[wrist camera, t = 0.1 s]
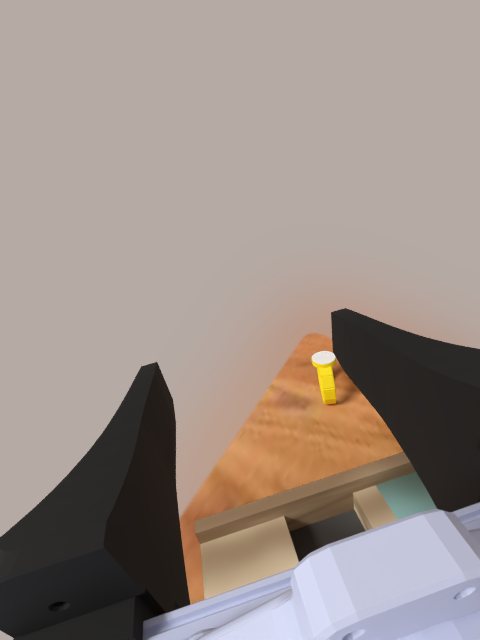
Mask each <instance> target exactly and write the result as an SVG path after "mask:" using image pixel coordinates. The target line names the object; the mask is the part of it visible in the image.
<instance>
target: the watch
mask: <svg viewBox="0 0 480 640" xmlns="http://www.w3.org/2000/svg"><path fill="white" fill-rule="evenodd" d="M335 363H336V357H335V355H334V354H333V353H332V352H329V351H321V352H317V353H315V354H314V355H313V356H312V364H313V366H315V367H317V371H318V378H319V384H320V389H321V393H322V398H323V403H324V404H325V405H326V404H335V403H336V389H335V382H334V376H333V371H332V366H334V365H335Z"/></svg>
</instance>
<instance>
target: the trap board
mask: <svg viewBox="0 0 480 640" xmlns="http://www.w3.org/2000/svg"><path fill="white" fill-rule="evenodd" d="M433 509H437V508H436V506H435V504H434V502H433V500H432V499H431V497H430V495H429V493H428V491H427V490H426V488H425V486H424V484H423V483H422V481H421V479H420V477H419V476H418V474H417V472H416V471H415V469H414V467H413V465H412V464H411V462H410V461H409V459H408V457H407V456H406V454H405V453H404V452H402V453H399V454H396V455H393V456H390V457H387V458H384V459H381V460H378V461H375V462H372V463H369V464H366V465H362V466H359V467H356V468H353V469H350V470H347V471H344V472H341V473H338V474H335V475H332V476H329V477H326V478H323V479H320V480H317V481H314V482H311V483H308V484H305V485H302V486H299V487H296V488H293V489H290V490H287V491H284V492H281V493H278V494H275V495H272V496H269V497H266V498H263V499H259V500H256V501H253V502H250V503H247V504H244V505H241V506H238V507H235V508H232V509H229V510H226V511H223V512H220V513H217V514H214V515H211V516H208V517H205V518H202V519H199V520H196V521H194V522H195V534H196V536H197V538H198V540H199V542H200V545H201V558H202V571H203V584H204V597H205V599H208V598H210V597H213V596H216V595H219V594H222V593H225V592H227V591H230V590H233V589H236V588H239V587H242V586H244V585H247V584H250V583H253V582H256V581H258V580H261V579H264V578H267V577H270V576H273V575H275V574H278V573H281V572H284V571H287V570H290V569H292V568H295V566H296V565H297V564H298V563H299V562H300V561H301V560H302V559H303V558H304V557H306V556H307V555H308V554H309V553H311V552H313V551H315V550H317V549H319V548H321V547H323V546H325V545H327V544H330V543H333V542H336V541H339V540H342V539H345V538H347V537H350V536H353V535H356V534H359V533H362V532H365V531H367V530H370V529H373V528H376V527H379V526H382V525H384V524H387V523H390V522H393V521H396V520H399V519H402V518H404V517H407V516H410V515H413V514H416V513H419V512H423V511H428V510H433Z"/></svg>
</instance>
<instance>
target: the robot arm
mask: <svg viewBox="0 0 480 640" xmlns="http://www.w3.org/2000/svg"><path fill="white" fill-rule="evenodd" d="M331 318H332V341H333V353H334V355H335V356H336V358H337V360H338V361H339V363H340V365H341V366H342V368H343V370H344V371H345V372H346V374H347V375H348V376H349V378H350V379H351V380H352V381H353V383H354V384H355V385H356V386H357V387H358V389H359V390H360V391H361V392H362V394H363V395H364V396H365V397H366V398H367V400H368V401H369V402H370V403H371V405H372V406H373V407H374V408H375V409H376V411H377V412H378V413H379V415H380V416H381V417H382V419H383V420H384V421H385V423H386V424H387V426H388V427H389V429H390V431H391V432H392V434H393V435H394V437H395V438H396V440H397V441H398V443H399V444H400V446H401V448H402V449H403V451H404V453H405V454H406V456H407V457H408V459H409V461H410V462H411V464H412V465H413V467H414V469H415V471H416V472H417V474H418V476H419V477H420V479H421V481H422V483H423V484H424V486H425V488H426V490H427V491H428V493H429V495H430V497H431V499H432V500H433V502H434V504H435V506H436V508H437V509H433V510H428V511H423V512H419V513H416V514H413V515H410V516H407V517H404V518H402V519H399V520H396V521H393V522H390V523H387V524H384V525H382V526H379V527H376V528H373V529H370V530H367V531H365V532H362V533H359V534H356V535H353V536H350V537H347V538H345V539H342V540H339V541H336V542H333V543H330V544H327V545H325V546H323V547H321V548H319V549H317V550H315V551H313V552H311V553H309V554H308V555H307V556H306V557H304V558H303V559H302V560H301V561H300V562H299V563H298V564H297V565H296V566H295V568H292V569H290V570H287V571H284V572H281V573H278V574H275V575H273V576H270V577H267V578H264V579H261V580H258V581H256V582H253V583H250V584H247V585H244V586H242V587H239V588H236V589H233V590H230V591H227V592H225V593H222V594H219V595H216V596H213V597H210V598H208V599H205V600H202V601H199V602H196V603H194V604H191V605H190V600H189V593H188V586H187V579H186V572H185V564H184V556H183V548H182V540H181V531H180V522H179V513H178V503H177V493H176V421H175V412H174V404H173V399H172V397H171V394H170V392H169V389H168V387H167V385H166V382H165V380H164V378H163V375H162V373H161V370H160V369H159V366H158V363H157V362H156V363H152V364H149V365H145V366H142V367H141V368H140V370H139V372H138V374H137V376H136V377H135V379H134V381H133V383H132V385H131V387H130V389H129V391H128V393H127V395H126V396H125V398H124V400H123V401H122V403H121V405H120V407H119V409H118V410H117V412H116V413H115V415H114V416H113V418H112V419H111V421H110V423H109V424H108V426H107V427H106V429H105V430H104V431H103V433H102V434H101V436H100V437H99V438H98V440H97V441H96V442H95V444H94V445H93V446H92V448H91V449H90V450H89V451H88V452H87V454H86V455H85V456H84V457H83V458H82V459H81V461H80V462H79V463H78V464H77V465H76V466H75V467H74V468H73V469H72V471H71V472H70V473H69V474H68V475H67V476H66V477H65V478H64V479H63V480H62V481H61V482H60V483H59V484H58V486H57V487H56V488H55V489H54V490H53V491H52V492H51V493H49V494H48V495H47V496H46V497H45V499H43V500H42V501H41V502H40V503H39V504H38V505H37V506H36V507H35V508H34V509H33V510H32V511H30V512H29V513H28V514H27V515H26V516H25V517H23V518H22V519H21V520H20V521H19V522H18V523H17V524H16V525H14V526H13V527H12V528H11V529H10V530H9V531H8V532H6V533H5V534H4V535H3V536H1V537H0V630H1V631H3V632H4V633H6V634H8V635H10V636H12V637H13V638H14V640H480V349H476V348H470V347H465V346H459V345H454V344H450V343H445V342H442V341H438V340H433V339H430V338H426V337H423V336H419V335H416V334H413V333H410V332H407V331H404V330H401V329H398V328H395V327H392V326H390V325H387V324H385V323H382V322H379V321H377V320H374V319H372V318H369V317H367V316H364V315H362V314H359V313H357V312H354V311H352V310H349V309H346V308H345V309H341V310H338V311H334V312H332V313H331Z"/></svg>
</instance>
